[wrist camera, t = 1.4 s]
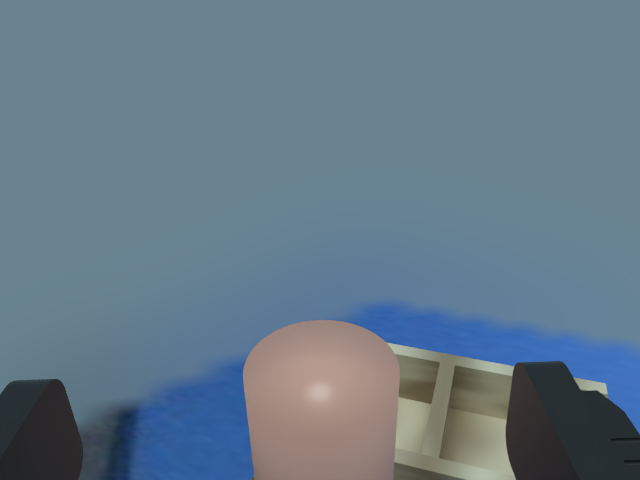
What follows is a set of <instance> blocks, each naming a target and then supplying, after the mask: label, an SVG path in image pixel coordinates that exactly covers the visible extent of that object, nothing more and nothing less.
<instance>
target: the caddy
mask: <svg viewBox="0 0 640 480" xmlns="http://www.w3.org/2000/svg"><path fill="white" fill-rule="evenodd" d="M387 344H388V345H389V346H390V348H391V349H392V350H393V352H394V354H395V355H396V358H397V360H398V363H399V368H400V382H399V397H398V412H397V428H396V443H395V458H394V474H393V480H516V478H515V476H514V473H513V470H512V468H511V465H510V461H509V458H508V453H507V447H506V434H505V433H506V421H507V414H508V406H509V398H510V391H511V383H512V375H513V370H514V366H509V365H504V364H498V363H493V362H488V361H482V360H477V359H472V358H466V357H461V356H455V355H450V354H445V353H439V352H434V351H429V350H423V349H418V348H413V347H407V346H402V345H396V344H391V343H387ZM574 380H575V381H576V383H577V385H578V386H579V388H580V390H581V391H591V390H598V391H599V392H600V393H601V394H603V395H604V396H605V397H606V398H608V394H607V387H606V383H600V382H595V381H589V380H584V379H579V378H574Z"/></svg>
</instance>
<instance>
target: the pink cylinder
mask: <svg viewBox="0 0 640 480" xmlns="http://www.w3.org/2000/svg"><path fill="white" fill-rule="evenodd" d="M243 381H244V390H245V399H246V407H247V416H248V425H249V434H250V443H251V451H252V460H253V469H254V478H255V480H393V474H394V458H395V443H396V428H397V412H398V397H399V382H400V368H399V363H398V360H397V358H396V355H395V354H394V352H393V350H392V349H391V348H390V346H389V345H388V344H387V343H386V342H385V341H384V340H383V339H382V338H380V337H379V336H377V335H376V334H375V333H373V332H371V331H369V330H367V329H365V328H363V327H360V326H357V325H354V324H351V323H346V322H342V321H334V320H312V321H305V322H300V323H295V324H292V325H289V326H286V327H283V328H281V329H278V330H276V331H274V332H273V333H271V334H269V335H268V336H266V337H265V338H264V339H262V340H261V341H260V342H259V343H258V344H257V345H256V346H255V347H254V348H253V350H252V351H251V352H250V354H249V356H248V357H247V359H246V362H245V365H244V371H243Z"/></svg>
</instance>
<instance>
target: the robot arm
mask: <svg viewBox="0 0 640 480" xmlns="http://www.w3.org/2000/svg"><path fill="white" fill-rule="evenodd" d="M505 434H506V447H507V453H508V458H509V461H510V465H511V468H512V470H513V473H514V476H515V478H516V480H640V435H639V433H638V432H637V430H636V429H635V427H634V426H633V424H632V423H631V421H630V420H629V418H628V417H627V415H626V414H625V412H624V411H623V410H621V409H620V408H619V407H618V406H616V405H615V404H614V403H613V402H611V401H610V400H609V399H608V398H606V397H605V396H604V395H603V394H601V393H600V392H599V391H598V390H591V391H581V390H580V388H579V386H578V385H577V383H576V381H575V380H574V378H573V376H572V375H571V373H570V371H569V370H568V368H567V366H566V365H565V364H564V363H563V362H561V361H550V362H524V363H517V364H516V365H515V367H514V370H513V375H512V383H511V391H510V398H509V406H508V414H507V421H506V433H505ZM82 459H83V447H82V442H81V438H80V435H79V432H78V428H77V425H76V422H75V419H74V416H73V412H72V409H71V406H70V403H69V400H68V396H67V394H66V390H65V387H64V385H63V384H62V382H61V381H60V380H58V379H46V380H45V379H43V380H19V381H13V382H11V383H9V384H8V385H7V386H6V388H5V389H4V391H3V392H2V393H1V394H0V480H78V478H79V475H80V471H81V467H82Z"/></svg>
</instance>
